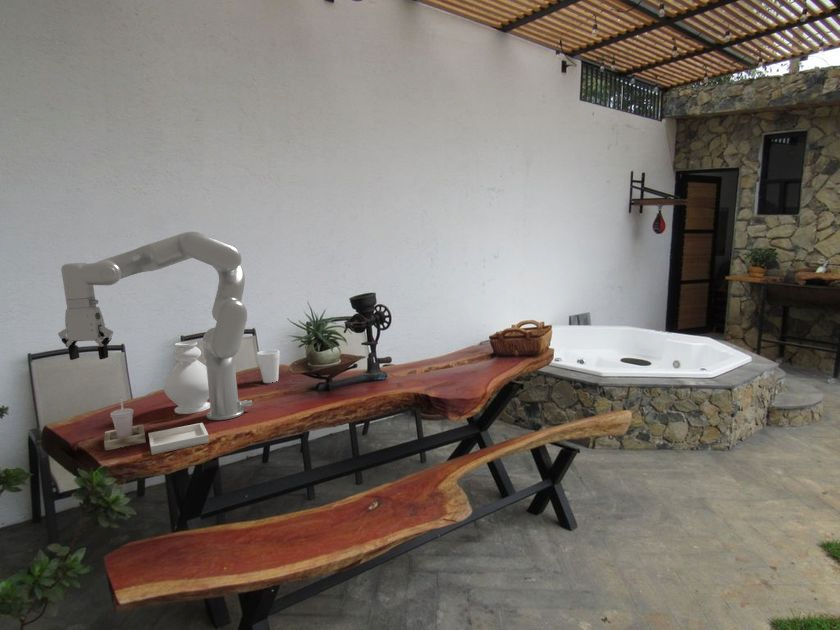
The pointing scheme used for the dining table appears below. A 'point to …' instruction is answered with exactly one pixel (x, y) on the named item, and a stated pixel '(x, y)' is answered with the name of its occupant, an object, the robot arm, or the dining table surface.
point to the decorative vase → (188, 380)
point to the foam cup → (269, 365)
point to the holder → (124, 438)
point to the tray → (178, 438)
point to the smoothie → (122, 421)
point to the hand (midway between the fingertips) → (89, 358)
